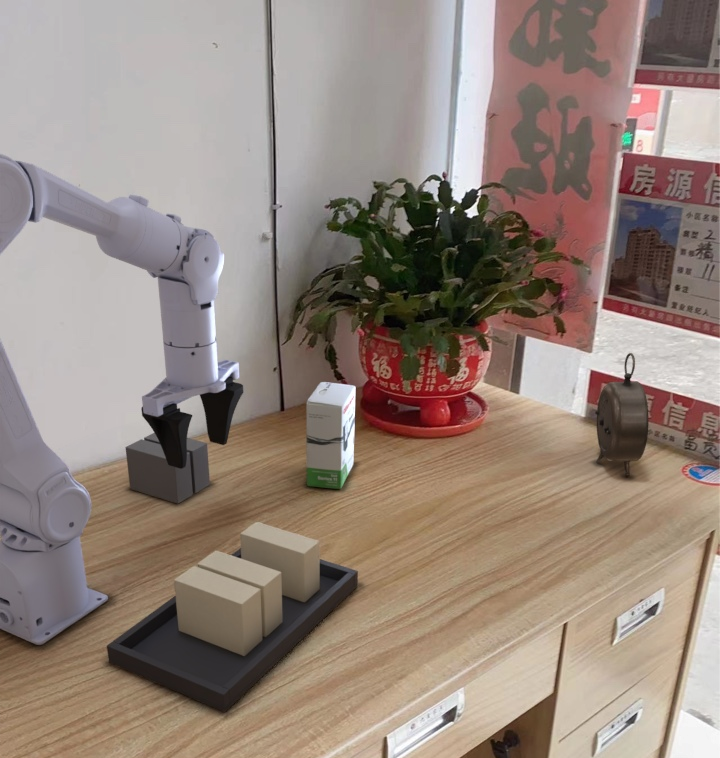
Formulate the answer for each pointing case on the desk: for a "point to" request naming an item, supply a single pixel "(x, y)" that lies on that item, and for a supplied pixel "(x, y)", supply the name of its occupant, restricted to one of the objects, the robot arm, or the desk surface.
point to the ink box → (330, 434)
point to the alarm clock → (622, 420)
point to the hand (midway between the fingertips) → (198, 453)
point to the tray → (216, 664)
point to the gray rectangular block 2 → (194, 461)
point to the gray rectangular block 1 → (157, 473)
